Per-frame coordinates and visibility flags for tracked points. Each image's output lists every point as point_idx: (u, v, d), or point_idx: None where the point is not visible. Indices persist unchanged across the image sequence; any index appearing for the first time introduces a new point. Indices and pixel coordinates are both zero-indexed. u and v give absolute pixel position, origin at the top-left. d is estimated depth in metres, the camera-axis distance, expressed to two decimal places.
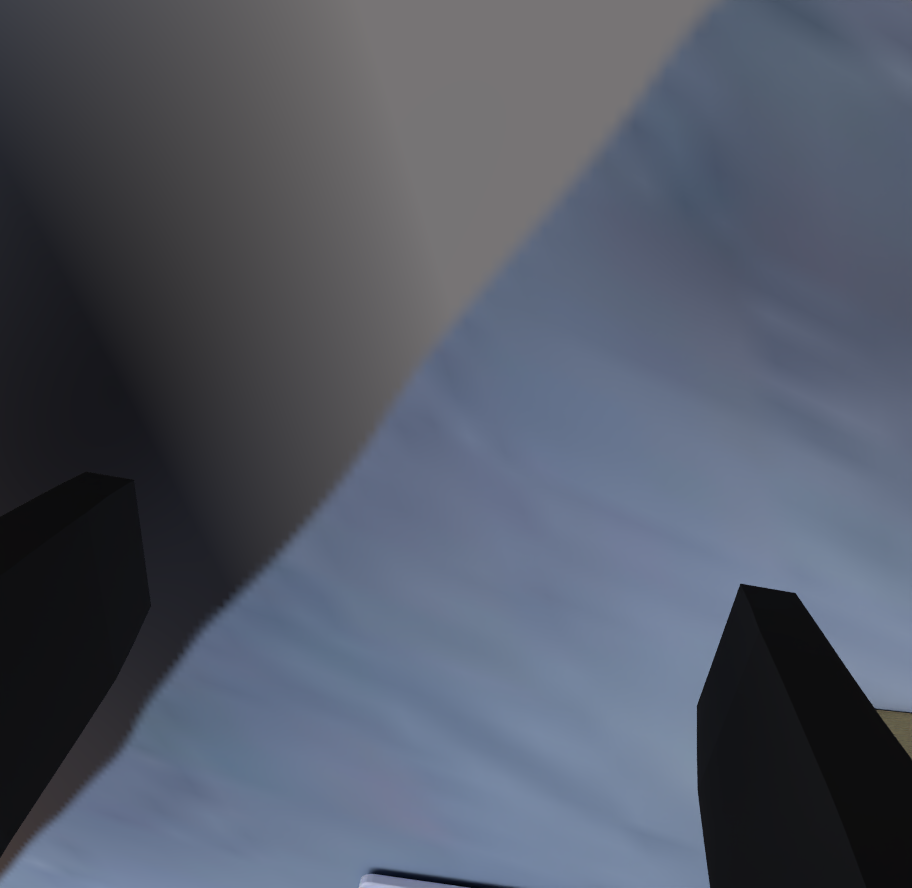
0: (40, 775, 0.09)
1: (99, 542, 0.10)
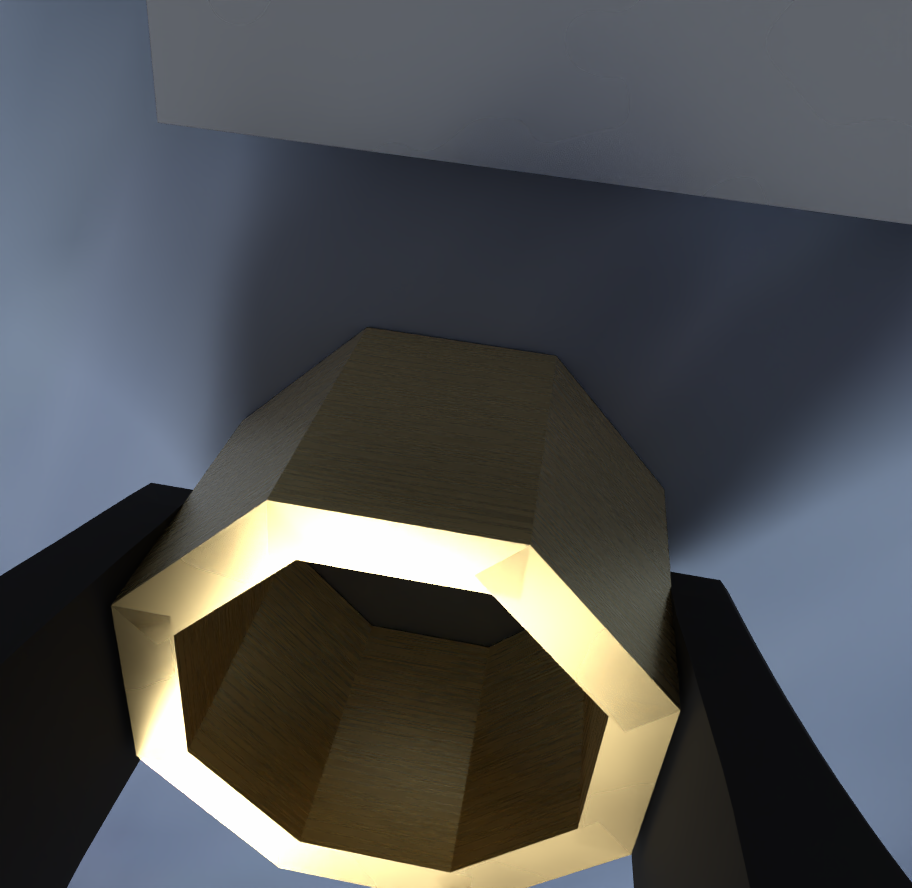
0: (111, 790, 0.09)
1: None
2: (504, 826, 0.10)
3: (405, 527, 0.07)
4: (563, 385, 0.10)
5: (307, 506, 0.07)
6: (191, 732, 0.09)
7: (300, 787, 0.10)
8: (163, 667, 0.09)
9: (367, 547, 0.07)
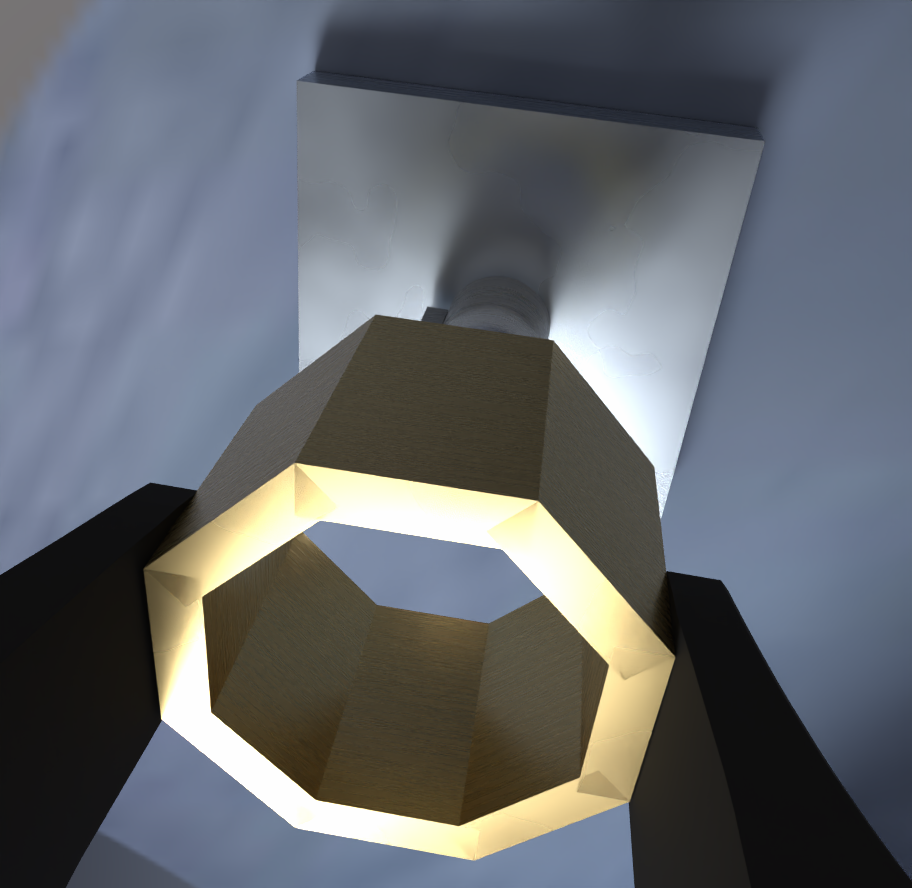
0: (110, 789, 0.09)
1: None
2: (509, 781, 0.10)
3: (423, 485, 0.08)
4: (562, 368, 0.10)
5: (332, 468, 0.08)
6: (214, 694, 0.10)
7: (314, 750, 0.11)
8: (190, 628, 0.09)
9: (388, 506, 0.08)
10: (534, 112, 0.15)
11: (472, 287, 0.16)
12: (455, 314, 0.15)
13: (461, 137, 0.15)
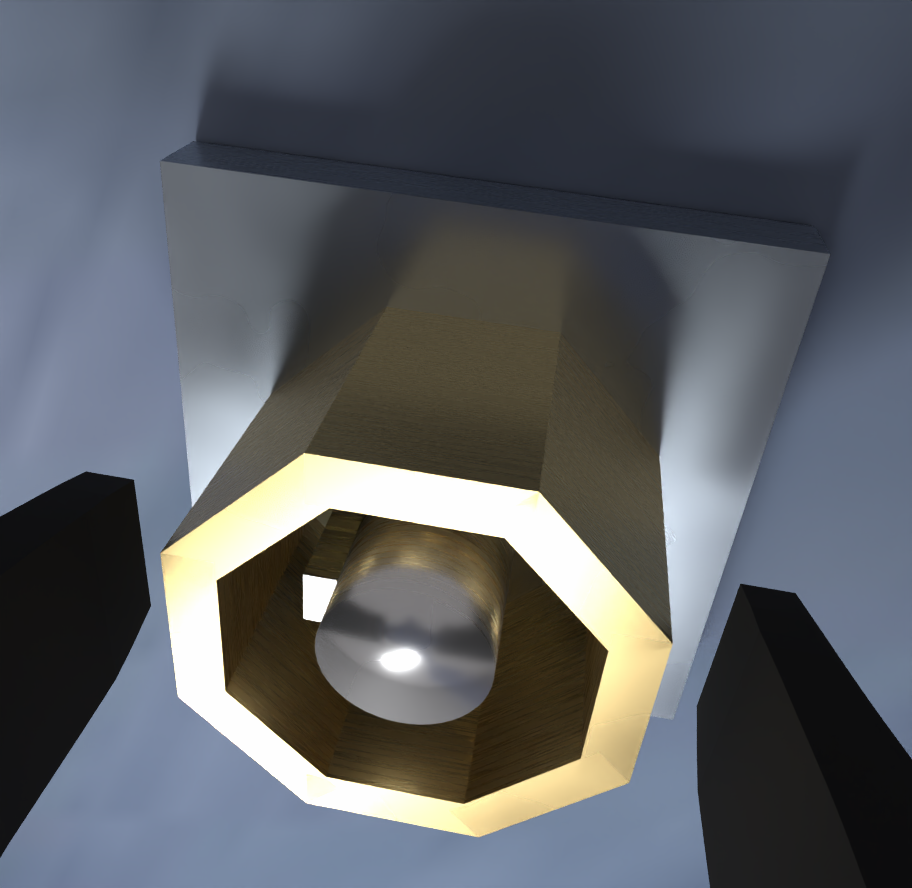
0: (40, 775, 0.09)
1: (99, 542, 0.10)
2: (513, 760, 0.11)
3: (428, 477, 0.08)
4: (567, 358, 0.11)
5: (340, 458, 0.08)
6: (228, 674, 0.10)
7: (326, 729, 0.11)
8: (205, 610, 0.10)
9: (393, 495, 0.08)
10: (497, 209, 0.10)
11: None
12: None
13: (394, 240, 0.11)
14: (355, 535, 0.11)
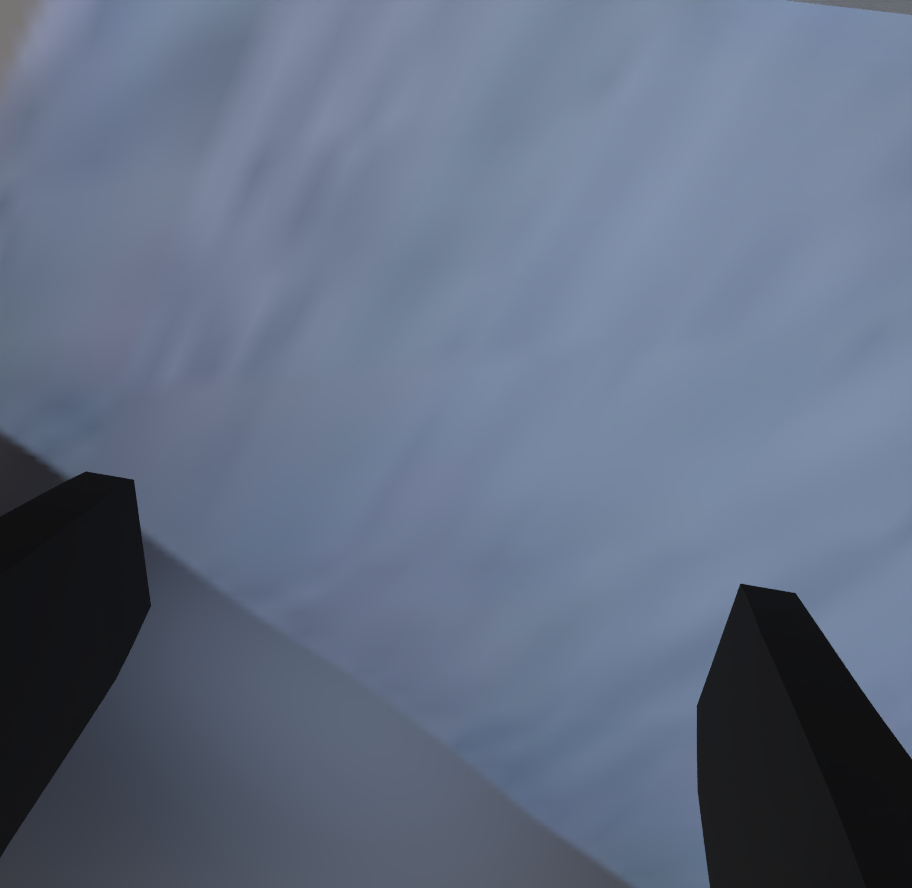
0: (40, 775, 0.09)
1: (99, 542, 0.10)
2: None
3: None
4: None
5: None
6: None
7: None
8: None
9: None
10: None
11: None
12: None
13: None
14: None
